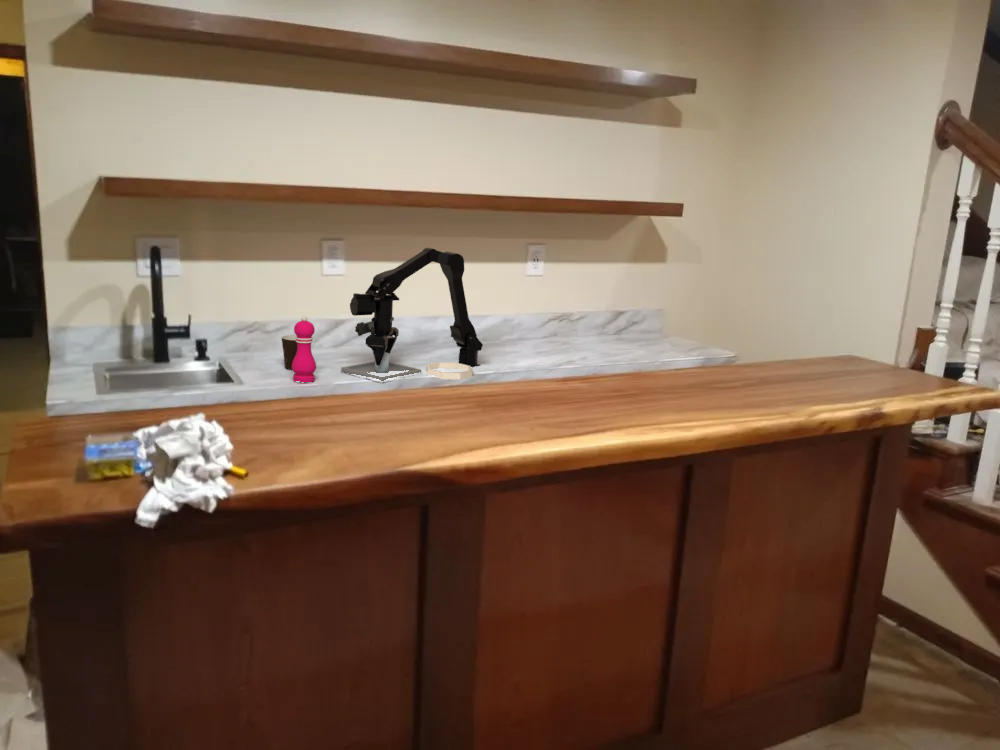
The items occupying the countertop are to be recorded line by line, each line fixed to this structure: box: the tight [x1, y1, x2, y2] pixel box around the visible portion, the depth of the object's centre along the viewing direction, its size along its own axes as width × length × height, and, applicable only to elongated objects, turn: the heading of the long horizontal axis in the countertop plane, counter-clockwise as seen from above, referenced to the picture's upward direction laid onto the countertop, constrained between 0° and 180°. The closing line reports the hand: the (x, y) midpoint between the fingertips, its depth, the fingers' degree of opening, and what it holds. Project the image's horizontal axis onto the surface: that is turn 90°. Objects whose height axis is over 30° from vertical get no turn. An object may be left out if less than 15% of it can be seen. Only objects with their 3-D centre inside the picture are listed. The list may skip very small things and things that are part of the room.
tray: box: [340, 360, 422, 381], centre depth 255 cm, size 18×18×2 cm
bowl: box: [425, 361, 474, 380], centre depth 259 cm, size 15×15×2 cm
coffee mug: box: [281, 334, 297, 371], centre depth 255 cm, size 12×9×10 cm
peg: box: [375, 352, 390, 373], centre depth 254 cm, size 4×4×6 cm
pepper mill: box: [291, 315, 317, 383], centre depth 238 cm, size 7×7×20 cm
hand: (381, 362), depth 254 cm, fingers open, 9 cm apart
